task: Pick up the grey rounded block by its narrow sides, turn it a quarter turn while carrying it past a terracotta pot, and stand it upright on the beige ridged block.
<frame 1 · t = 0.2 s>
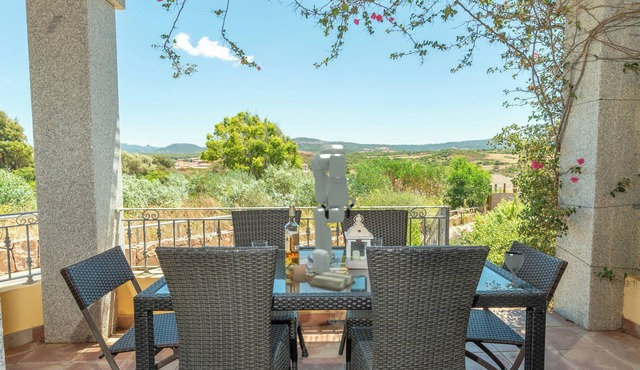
hand: (337, 218, 193), 31 cm above the table, tool pointing down, fingers open, 9 cm apart
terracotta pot: (300, 280, 201), on the table
wine glass: (513, 285, 192), on the table
beige ridged block: (333, 284, 194), on the table
grey rounded block: (321, 274, 214), on the table
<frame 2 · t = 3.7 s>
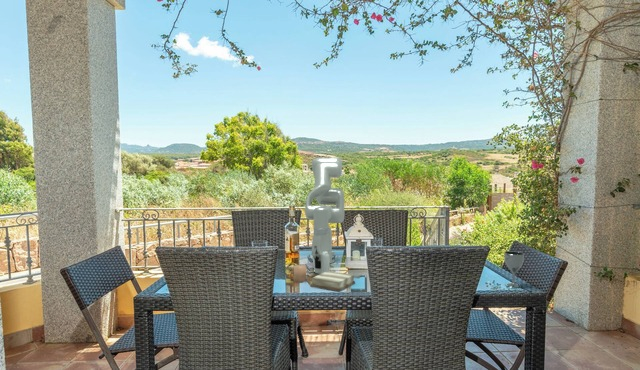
hand: (321, 266, 214), 4 cm above the table, tool pointing down, fingers closed on grey rounded block, 5 cm apart
grey rounded block: (321, 274, 214), on the table, touching gripper
everything else where it was.
when the fingers open (9 cm above the table, at t = 9.3 s): grey rounded block drops 1 cm, resting on beige ridged block.
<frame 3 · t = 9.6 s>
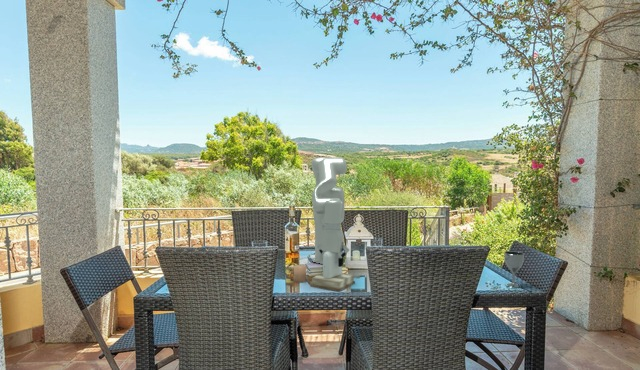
hand: (333, 264, 194), 9 cm above the table, tool pointing down, fingers open, 7 cm apart
grey rounded block: (332, 276, 194), point 4 cm above the table, touching beige ridged block
everything else where it was.
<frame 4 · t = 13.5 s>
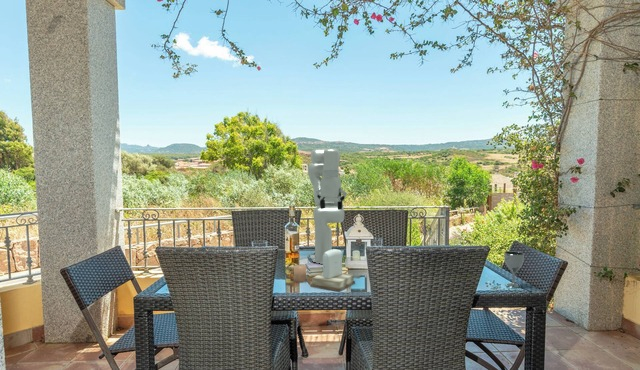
hand: (331, 208, 209), 33 cm above the table, tool pointing down, fingers open, 9 cm apart
nothing on the table moved.
at the end: grey rounded block inside the target area on the beige ridged block (0.4 cm from its centre), point 3.8 cm above the beige ridged block's base; grey rounded block tilted 0°; the gripper is holding nothing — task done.
